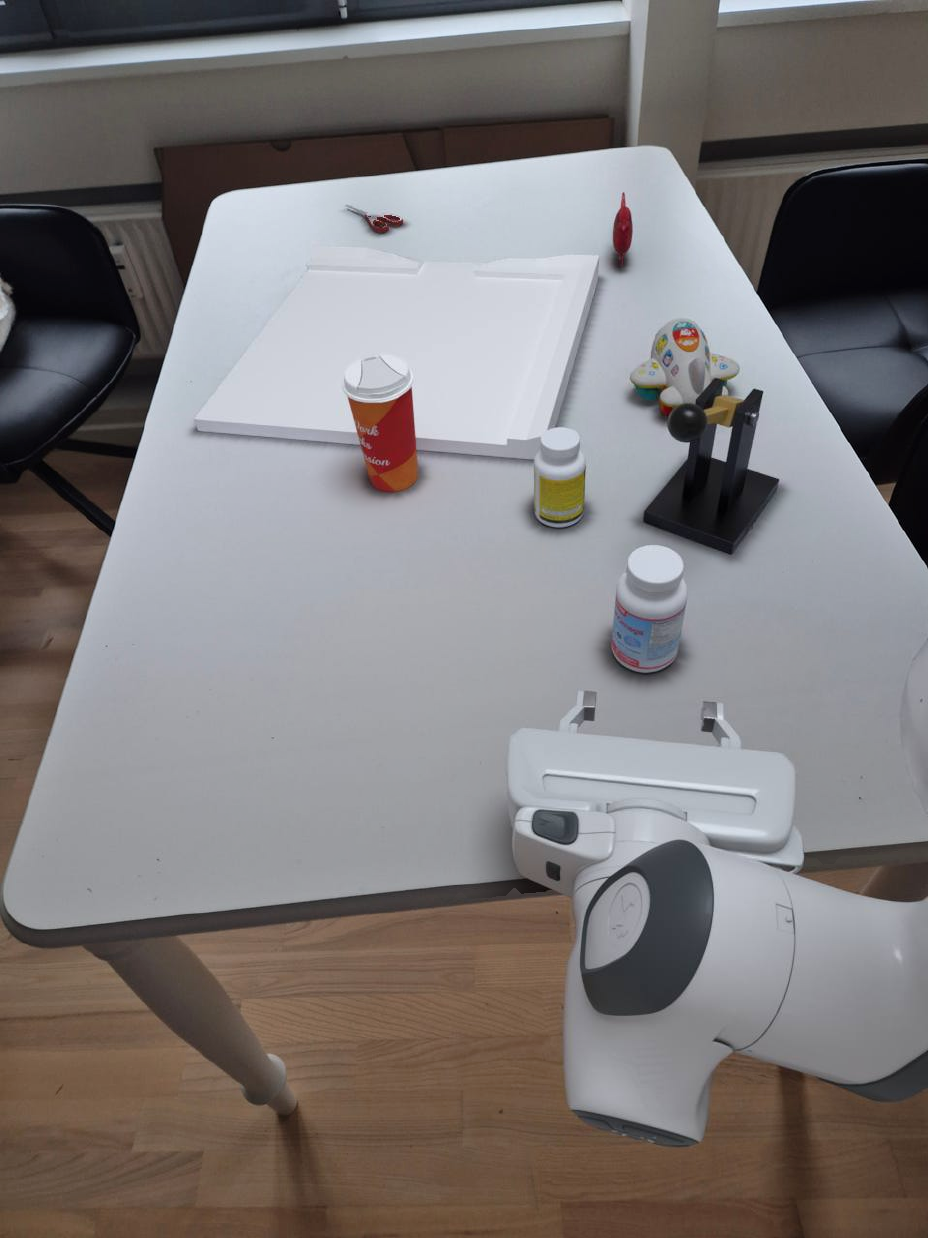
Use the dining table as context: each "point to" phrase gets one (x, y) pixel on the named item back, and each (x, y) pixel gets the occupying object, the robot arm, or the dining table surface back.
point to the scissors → (380, 220)
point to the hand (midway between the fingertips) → (648, 700)
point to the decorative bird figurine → (622, 230)
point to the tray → (416, 349)
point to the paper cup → (384, 419)
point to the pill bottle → (649, 609)
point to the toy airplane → (680, 366)
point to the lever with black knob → (701, 418)
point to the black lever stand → (716, 483)
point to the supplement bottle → (559, 478)
